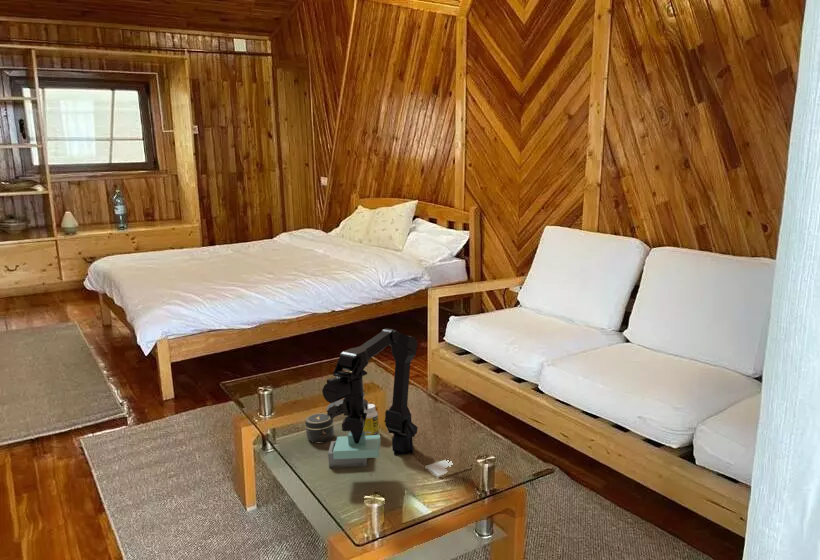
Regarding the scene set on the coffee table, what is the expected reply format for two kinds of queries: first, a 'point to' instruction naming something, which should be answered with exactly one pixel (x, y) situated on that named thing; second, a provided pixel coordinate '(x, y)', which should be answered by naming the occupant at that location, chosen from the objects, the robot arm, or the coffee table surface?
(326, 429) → the jar
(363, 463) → the storage box
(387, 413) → the robot arm
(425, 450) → the coffee table surface
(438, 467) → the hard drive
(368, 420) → the pill bottle
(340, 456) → the lid
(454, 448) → the coffee table surface
